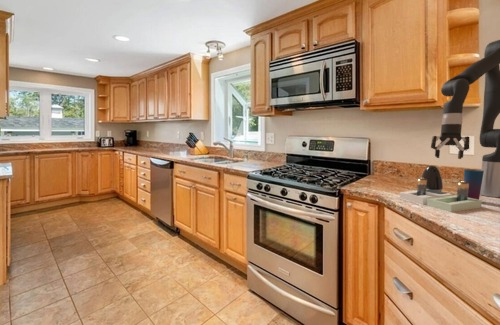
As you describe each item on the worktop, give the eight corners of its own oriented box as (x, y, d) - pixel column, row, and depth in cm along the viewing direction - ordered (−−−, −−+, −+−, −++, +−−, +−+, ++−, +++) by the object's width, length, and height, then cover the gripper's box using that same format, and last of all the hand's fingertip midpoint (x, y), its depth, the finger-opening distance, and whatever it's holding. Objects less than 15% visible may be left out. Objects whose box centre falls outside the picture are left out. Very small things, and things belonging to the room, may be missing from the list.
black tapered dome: (422, 196, 134) (424, 166, 132) (416, 191, 144) (417, 164, 142) (445, 197, 131) (448, 166, 129) (437, 192, 141) (439, 164, 139)
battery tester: (426, 196, 134) (427, 188, 134) (451, 201, 123) (452, 193, 122) (399, 199, 128) (400, 191, 128) (422, 205, 117) (423, 197, 117)
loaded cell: (460, 203, 117) (461, 180, 116) (469, 205, 114) (471, 181, 112) (454, 204, 116) (455, 180, 115) (463, 206, 112) (465, 182, 111)
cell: (420, 198, 127) (421, 176, 126) (427, 200, 124) (429, 178, 122) (414, 199, 126) (415, 177, 125) (421, 201, 122) (423, 178, 121)
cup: (461, 199, 126) (464, 168, 124) (480, 201, 122) (483, 169, 120) (461, 202, 121) (464, 170, 119) (481, 205, 116) (484, 171, 115)
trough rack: (455, 202, 121) (456, 195, 120) (480, 208, 111) (481, 200, 111) (426, 206, 115) (427, 198, 115) (450, 213, 106) (451, 204, 105)
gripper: (467, 124, 124) (464, 158, 125) (431, 124, 129) (428, 157, 130) (473, 123, 117) (470, 159, 118) (435, 123, 122) (432, 157, 123)
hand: (448, 158), depth 124 cm, fingers open, 8 cm apart
